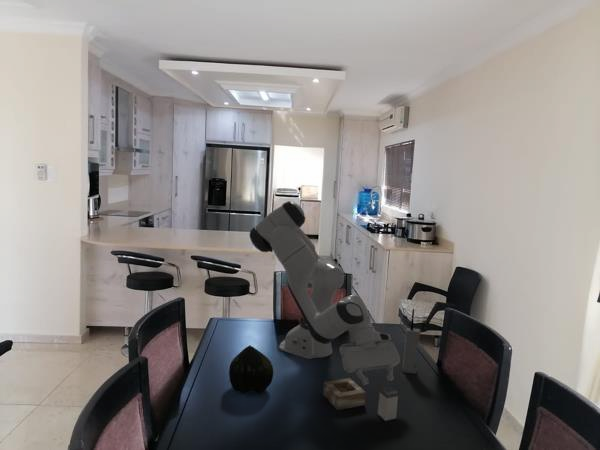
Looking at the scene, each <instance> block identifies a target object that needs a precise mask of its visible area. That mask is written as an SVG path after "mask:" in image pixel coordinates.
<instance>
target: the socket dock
mask: <svg viewBox="0 0 600 450" xmlns="http://www.w3.org/2000/svg"><path fill="white" fill-rule="evenodd" d="M323 396H324V397H325V398H326V399H327V401H328V402H329V403H330V404H331V405H332V406H333V407H334V408H335V410H336V411H341V410H345V409H351V408H355V407H361V406H365V404H366V401H365V400H366V391H365V390H364V389H363V388H362V387H361V386H359V384H357V383H356V382H355V381H353V380H352V379H351V377H348V378H341V379H336V380H330V381H324V382H323Z"/></svg>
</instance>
